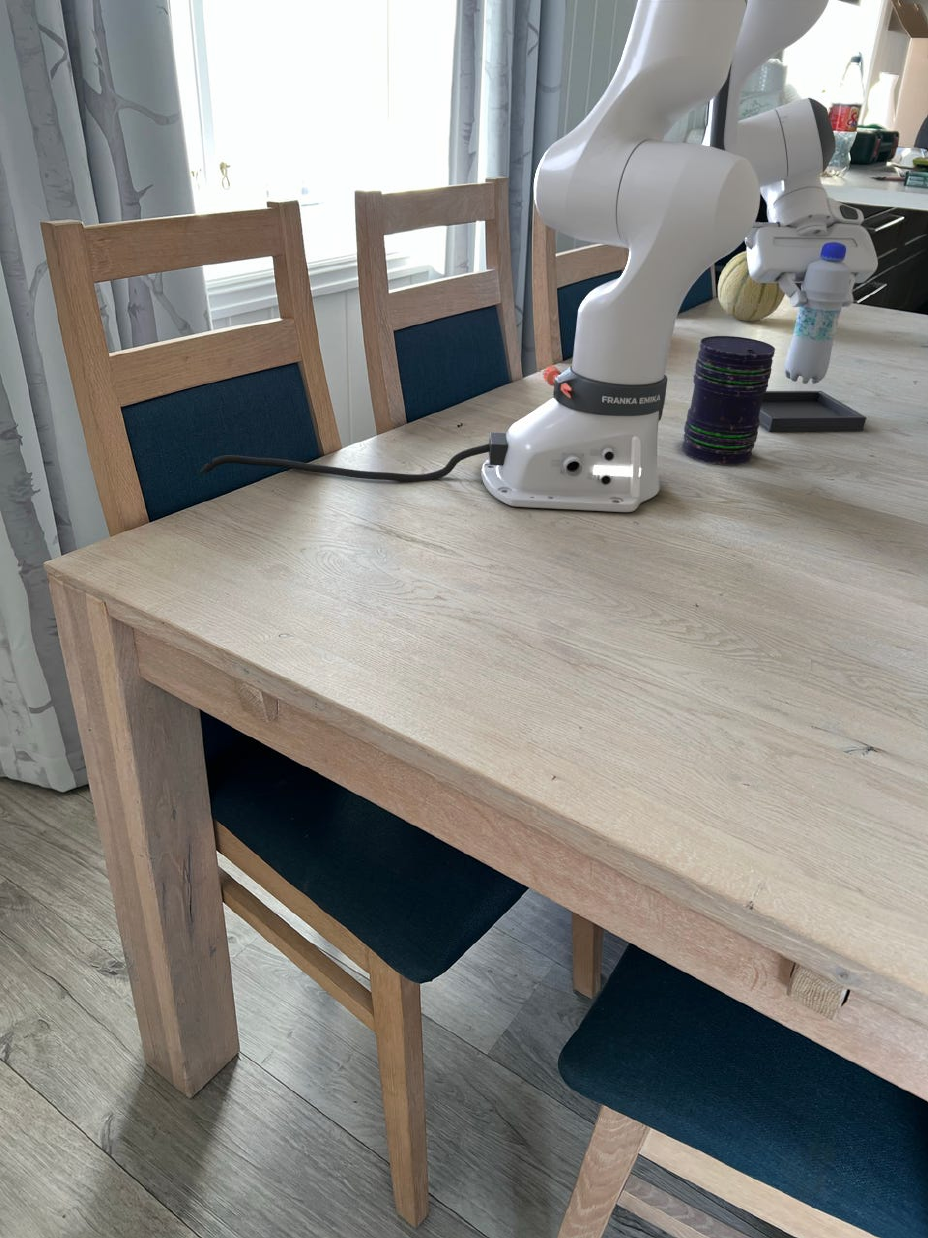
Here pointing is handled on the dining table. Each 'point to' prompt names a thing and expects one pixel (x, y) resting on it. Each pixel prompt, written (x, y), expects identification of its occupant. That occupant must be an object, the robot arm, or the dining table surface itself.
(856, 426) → the tray
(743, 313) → the cantaloupe
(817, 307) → the bottle
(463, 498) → the dining table surface
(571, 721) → the dining table surface
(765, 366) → the navy striped cylinder
